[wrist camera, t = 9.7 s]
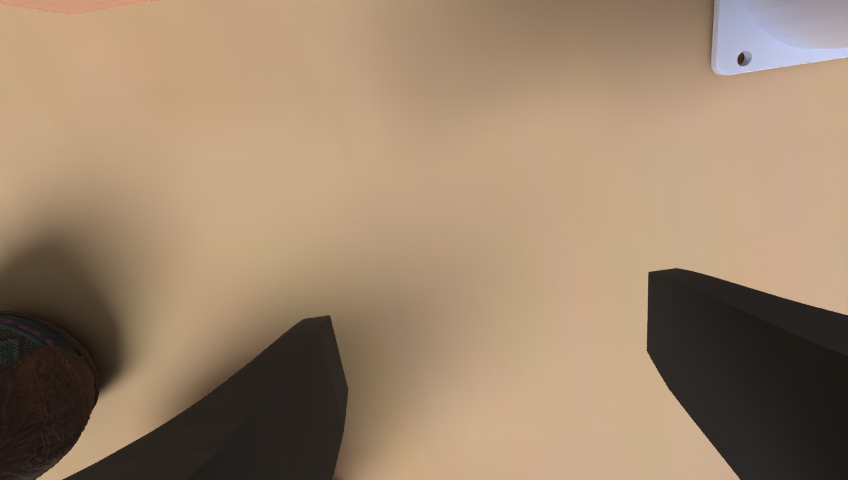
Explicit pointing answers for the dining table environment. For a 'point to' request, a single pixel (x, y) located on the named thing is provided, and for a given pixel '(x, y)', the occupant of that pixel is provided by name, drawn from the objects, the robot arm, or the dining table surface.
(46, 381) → the mate gourd
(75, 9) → the terracotta brick
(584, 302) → the dining table surface
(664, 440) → the dining table surface
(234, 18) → the dining table surface
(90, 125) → the dining table surface
